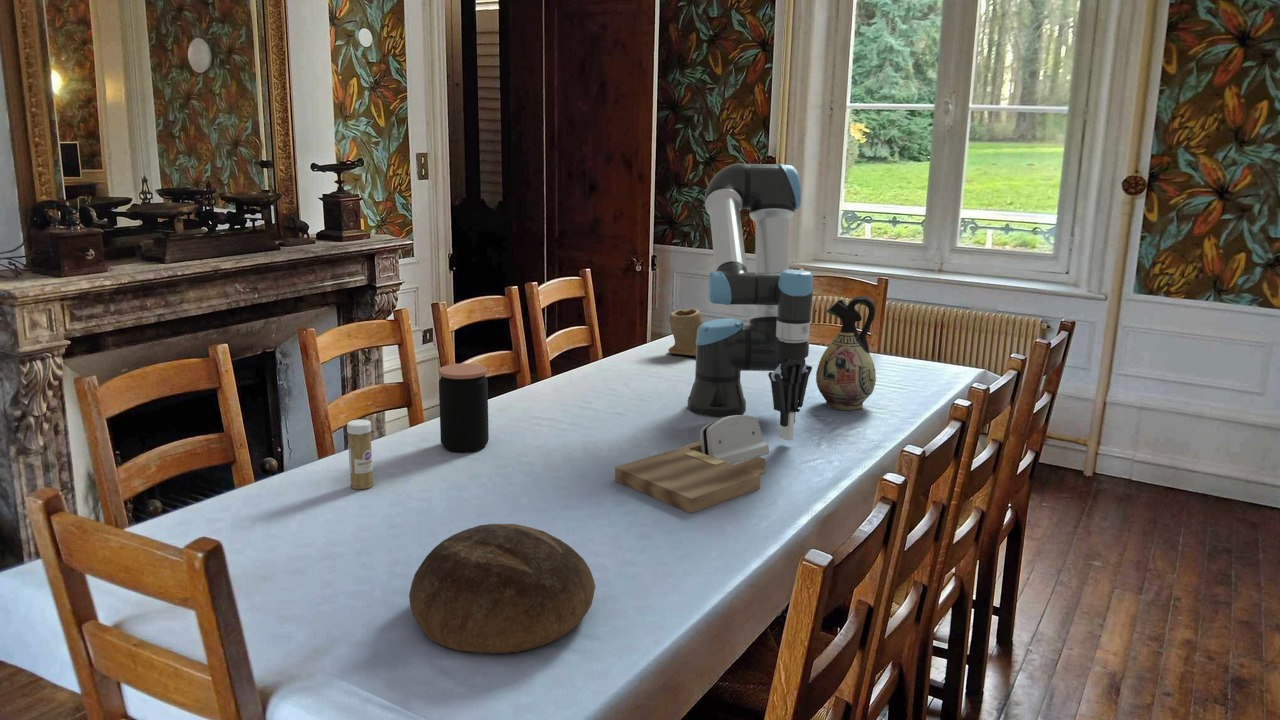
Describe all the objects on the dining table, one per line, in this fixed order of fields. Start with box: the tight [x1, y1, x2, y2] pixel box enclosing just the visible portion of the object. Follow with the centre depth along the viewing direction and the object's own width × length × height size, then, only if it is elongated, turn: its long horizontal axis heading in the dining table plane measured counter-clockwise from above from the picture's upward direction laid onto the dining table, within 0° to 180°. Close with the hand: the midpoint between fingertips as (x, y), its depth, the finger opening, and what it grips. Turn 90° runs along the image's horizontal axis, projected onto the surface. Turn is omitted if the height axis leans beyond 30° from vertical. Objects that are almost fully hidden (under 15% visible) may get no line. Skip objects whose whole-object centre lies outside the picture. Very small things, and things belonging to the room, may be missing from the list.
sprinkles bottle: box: [346, 419, 375, 490], centre depth 189 cm, size 5×5×13 cm
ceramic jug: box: [815, 296, 877, 411], centre depth 249 cm, size 17×15×30 cm
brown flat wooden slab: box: [614, 440, 766, 514], centre depth 198 cm, size 22×28×3 cm
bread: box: [408, 523, 596, 654], centre depth 141 cm, size 26×27×13 cm
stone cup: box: [668, 308, 703, 357], centre depth 303 cm, size 15×12×15 cm
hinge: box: [699, 414, 770, 464], centre depth 213 cm, size 17×5×10 cm, turn 129°
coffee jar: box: [438, 362, 490, 454], centre depth 214 cm, size 11×11×18 cm
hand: (786, 438), depth 221 cm, fingers closed
